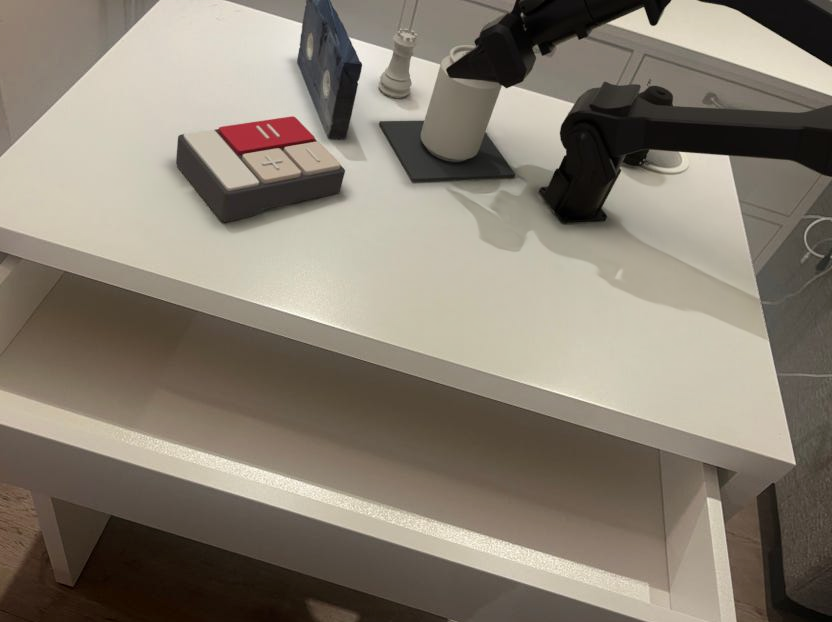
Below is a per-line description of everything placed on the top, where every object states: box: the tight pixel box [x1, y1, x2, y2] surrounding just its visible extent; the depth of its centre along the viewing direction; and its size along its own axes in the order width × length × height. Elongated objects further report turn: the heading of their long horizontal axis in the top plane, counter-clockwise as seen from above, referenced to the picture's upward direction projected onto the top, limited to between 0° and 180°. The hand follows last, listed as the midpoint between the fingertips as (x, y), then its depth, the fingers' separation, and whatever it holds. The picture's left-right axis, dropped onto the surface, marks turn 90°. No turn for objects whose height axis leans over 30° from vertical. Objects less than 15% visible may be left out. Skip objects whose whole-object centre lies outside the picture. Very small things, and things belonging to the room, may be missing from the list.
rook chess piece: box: [377, 27, 419, 99], centre depth 100 cm, size 4×4×8 cm
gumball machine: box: [622, 78, 674, 167], centre depth 99 cm, size 7×6×10 cm
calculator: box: [175, 115, 346, 223], centre depth 83 cm, size 11×4×15 cm
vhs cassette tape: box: [296, 0, 363, 139], centre depth 95 cm, size 18×3×10 cm, turn 13°
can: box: [421, 44, 503, 162], centre depth 91 cm, size 8×8×12 cm
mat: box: [378, 120, 517, 183], centre depth 95 cm, size 14×12×1 cm
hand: (462, 58), depth 87 cm, fingers open, 9 cm apart
